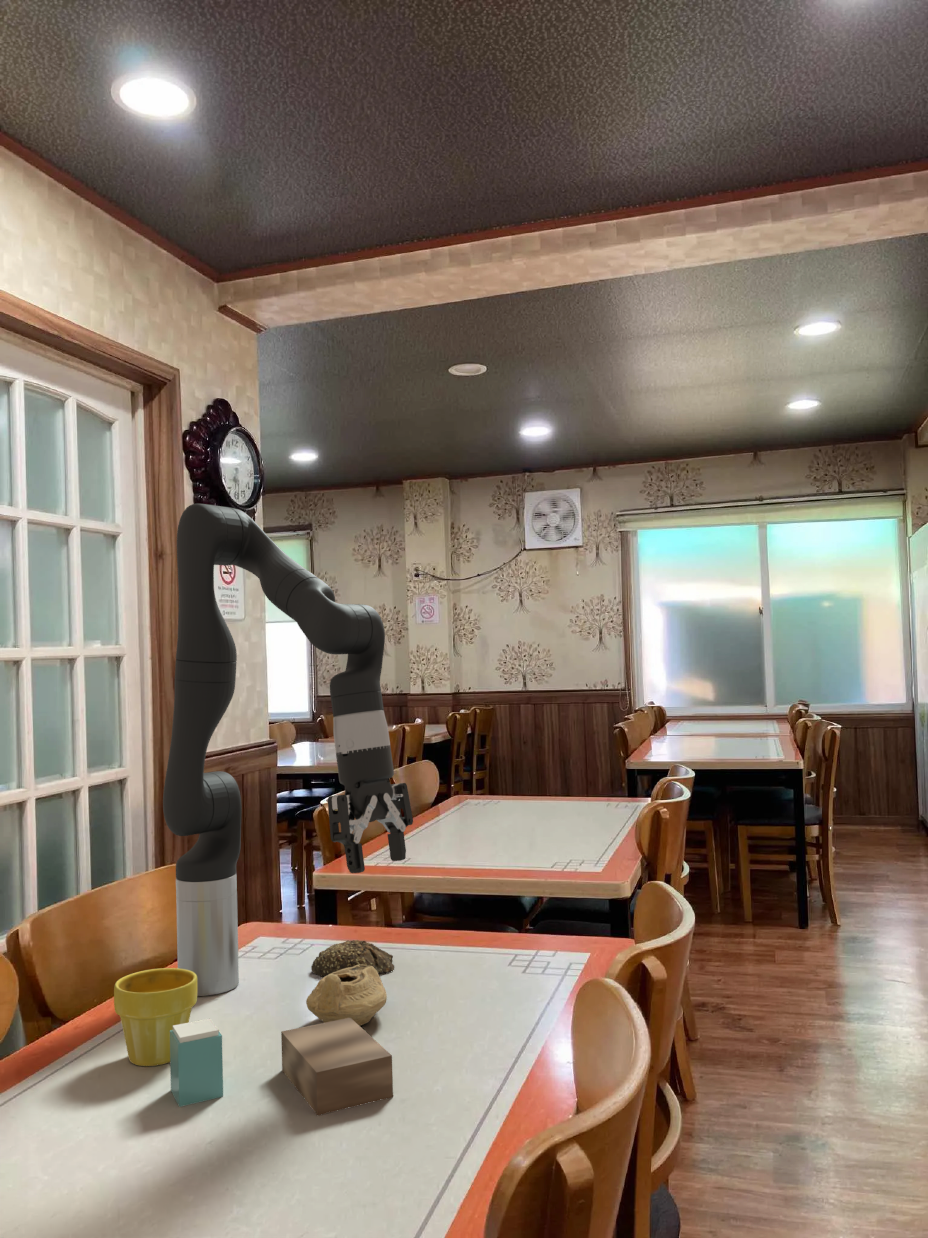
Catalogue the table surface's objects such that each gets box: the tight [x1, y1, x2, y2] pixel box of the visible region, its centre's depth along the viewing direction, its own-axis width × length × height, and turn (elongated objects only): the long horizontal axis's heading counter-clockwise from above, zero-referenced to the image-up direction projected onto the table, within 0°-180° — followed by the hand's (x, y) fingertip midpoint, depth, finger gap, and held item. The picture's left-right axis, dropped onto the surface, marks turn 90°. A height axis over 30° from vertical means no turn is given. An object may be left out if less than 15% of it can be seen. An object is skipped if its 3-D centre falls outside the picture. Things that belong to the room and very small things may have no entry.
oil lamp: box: [305, 965, 388, 1027], centre depth 138 cm, size 11×15×8 cm
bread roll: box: [310, 939, 395, 978], centre depth 160 cm, size 13×12×5 cm
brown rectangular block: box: [280, 1018, 394, 1116], centre depth 116 cm, size 14×9×5 cm, turn 26°
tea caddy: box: [169, 1018, 224, 1108], centre depth 115 cm, size 5×5×8 cm
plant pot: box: [113, 967, 198, 1067], centre depth 126 cm, size 10×10×10 cm
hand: (378, 866), depth 132 cm, fingers open, 8 cm apart
